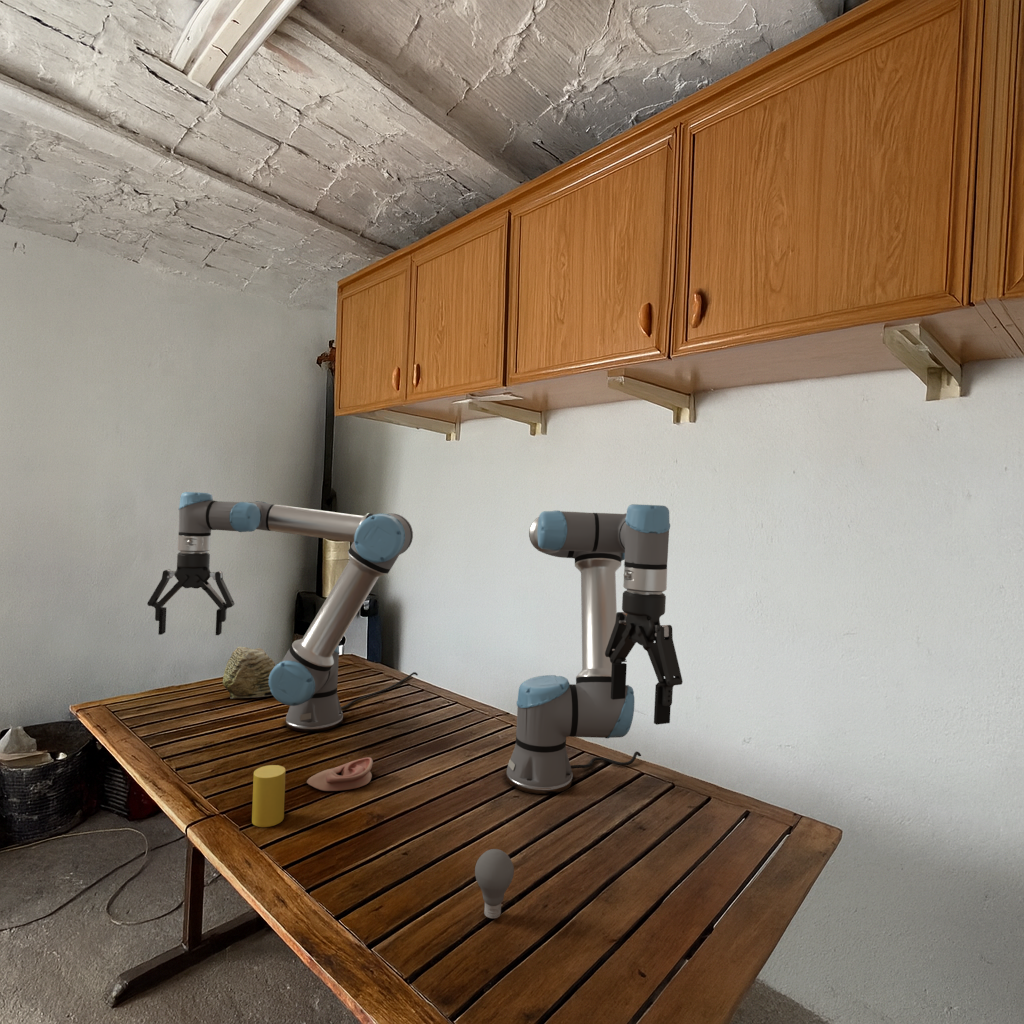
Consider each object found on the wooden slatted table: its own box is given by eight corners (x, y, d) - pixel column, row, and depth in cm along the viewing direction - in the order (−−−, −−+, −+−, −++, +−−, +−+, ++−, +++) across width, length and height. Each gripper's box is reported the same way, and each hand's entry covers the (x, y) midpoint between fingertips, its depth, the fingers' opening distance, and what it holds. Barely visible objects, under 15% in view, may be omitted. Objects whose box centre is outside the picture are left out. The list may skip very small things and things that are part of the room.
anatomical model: (300, 769, 137) (326, 749, 148) (299, 787, 137) (325, 766, 148) (357, 777, 134) (379, 756, 146) (356, 796, 134) (378, 773, 146)
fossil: (218, 695, 195) (220, 647, 195) (278, 685, 208) (279, 640, 207) (228, 703, 189) (230, 653, 188) (289, 692, 201) (290, 645, 201)
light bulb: (472, 903, 100) (475, 841, 100) (510, 903, 101) (513, 841, 101) (473, 929, 94) (476, 863, 94) (513, 928, 95) (516, 862, 95)
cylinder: (289, 820, 124) (291, 771, 124) (260, 830, 119) (262, 780, 119) (274, 809, 128) (276, 762, 128) (246, 819, 123) (248, 770, 123)
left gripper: (135, 551, 157) (131, 636, 158) (241, 555, 162) (238, 637, 162) (146, 548, 165) (143, 630, 165) (248, 552, 169) (244, 631, 170)
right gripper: (590, 582, 122) (585, 691, 123) (670, 603, 99) (663, 737, 100) (623, 581, 125) (618, 688, 126) (708, 602, 102) (702, 732, 103)
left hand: (190, 634), depth 164 cm, fingers open, 13 cm apart
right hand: (638, 710), depth 113 cm, fingers open, 13 cm apart
